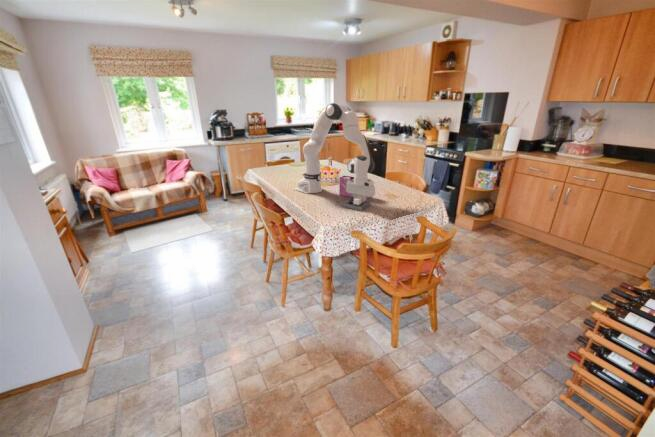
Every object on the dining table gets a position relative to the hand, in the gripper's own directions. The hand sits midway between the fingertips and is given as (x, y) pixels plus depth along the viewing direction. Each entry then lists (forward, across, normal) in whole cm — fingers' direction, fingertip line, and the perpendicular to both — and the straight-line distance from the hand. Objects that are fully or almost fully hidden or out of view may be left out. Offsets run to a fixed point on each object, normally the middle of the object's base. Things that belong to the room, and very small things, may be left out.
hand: (359, 200), depth 201 cm
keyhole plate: (+4, -2, 0) cm, 5 cm away
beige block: (+3, 0, 0) cm, 3 cm away
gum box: (+4, -13, +18) cm, 23 cm away
